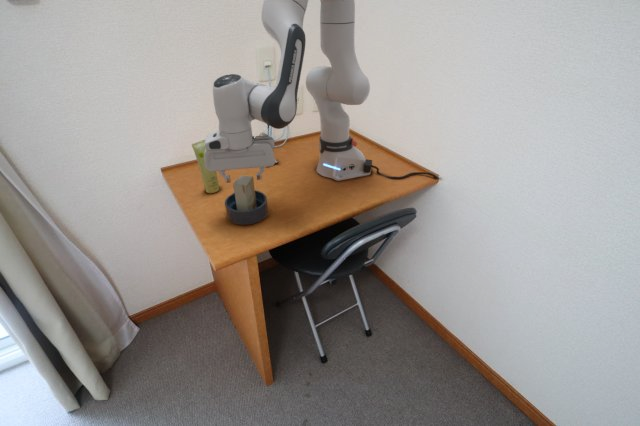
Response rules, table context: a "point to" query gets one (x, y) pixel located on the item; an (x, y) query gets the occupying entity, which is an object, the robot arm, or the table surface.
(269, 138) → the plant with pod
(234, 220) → the bowl
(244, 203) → the cosmetic box
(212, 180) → the tube
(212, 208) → the table surface
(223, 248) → the table surface
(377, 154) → the table surface
